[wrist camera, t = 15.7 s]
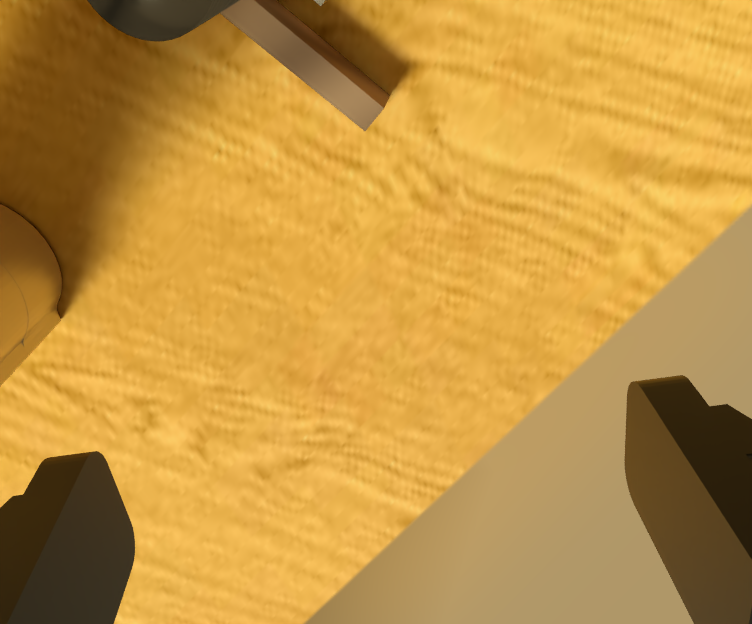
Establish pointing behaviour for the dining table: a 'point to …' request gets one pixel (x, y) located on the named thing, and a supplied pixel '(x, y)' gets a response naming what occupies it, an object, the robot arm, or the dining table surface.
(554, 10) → the dining table surface
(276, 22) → the press frame
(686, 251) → the dining table surface
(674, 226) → the dining table surface
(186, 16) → the sliding jaw
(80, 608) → the robot arm
